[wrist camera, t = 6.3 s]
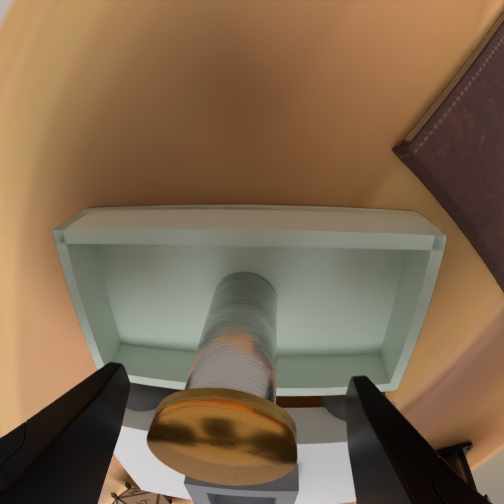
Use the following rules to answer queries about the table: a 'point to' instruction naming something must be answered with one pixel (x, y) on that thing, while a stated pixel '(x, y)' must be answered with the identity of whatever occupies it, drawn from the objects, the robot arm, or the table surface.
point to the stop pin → (230, 395)
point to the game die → (139, 497)
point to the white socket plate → (249, 496)
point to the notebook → (468, 149)
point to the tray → (268, 266)
